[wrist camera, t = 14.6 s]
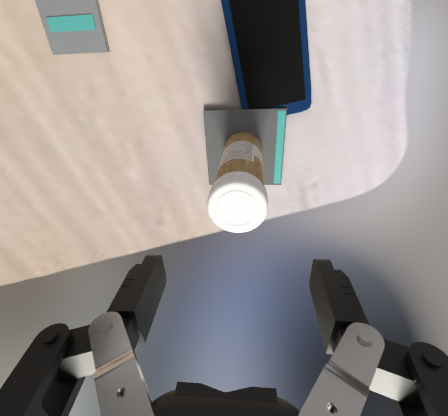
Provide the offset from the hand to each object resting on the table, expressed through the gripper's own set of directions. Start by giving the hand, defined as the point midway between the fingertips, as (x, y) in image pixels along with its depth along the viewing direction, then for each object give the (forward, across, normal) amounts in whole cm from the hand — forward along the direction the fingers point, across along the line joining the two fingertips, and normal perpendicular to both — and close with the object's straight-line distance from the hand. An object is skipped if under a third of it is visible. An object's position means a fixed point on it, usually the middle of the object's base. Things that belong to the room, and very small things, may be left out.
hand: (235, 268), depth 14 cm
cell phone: (+21, -3, -10) cm, 23 cm away
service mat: (+20, 0, 0) cm, 20 cm away
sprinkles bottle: (+20, 0, 0) cm, 20 cm away
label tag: (+20, +17, -13) cm, 29 cm away
